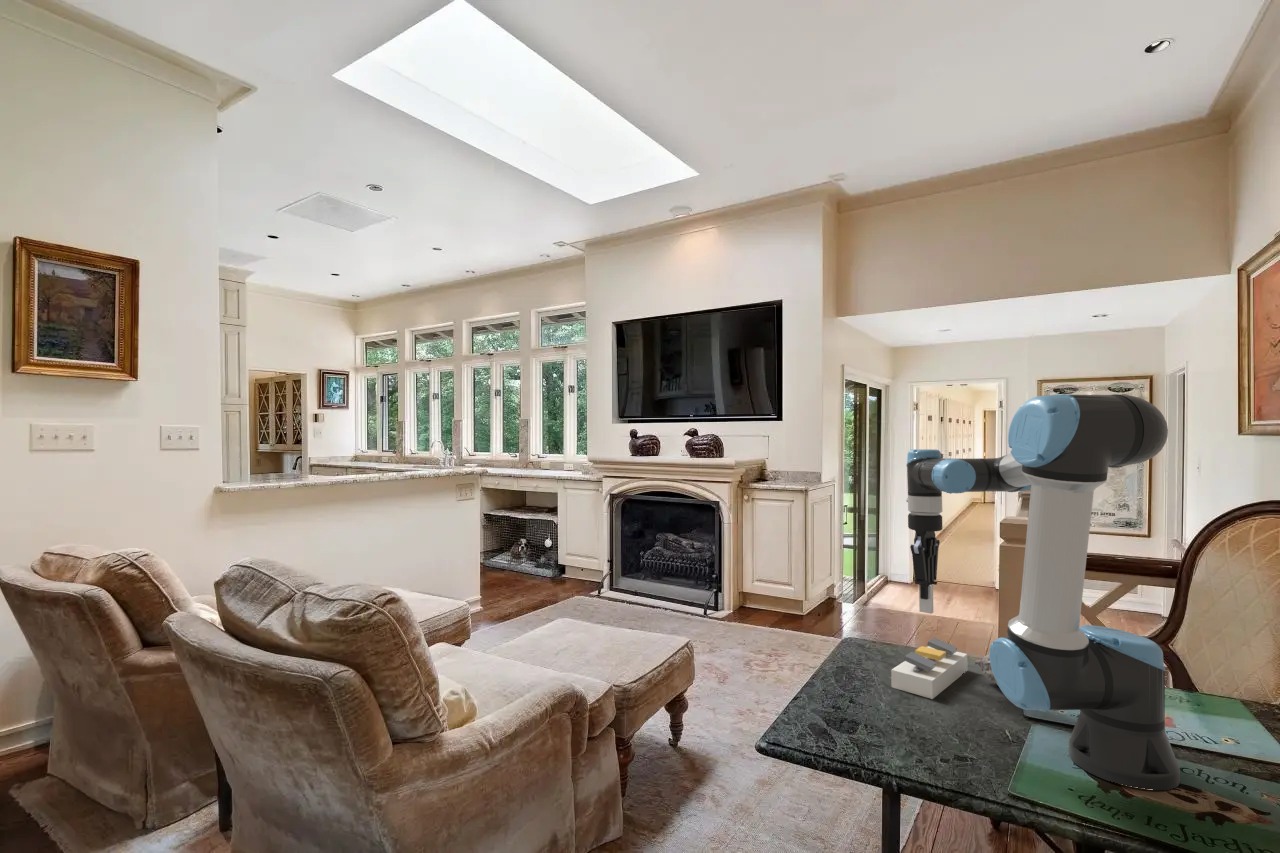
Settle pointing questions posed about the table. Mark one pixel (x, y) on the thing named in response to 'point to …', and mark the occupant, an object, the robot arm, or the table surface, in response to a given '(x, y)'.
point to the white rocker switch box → (929, 675)
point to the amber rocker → (931, 653)
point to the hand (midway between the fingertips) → (926, 611)
